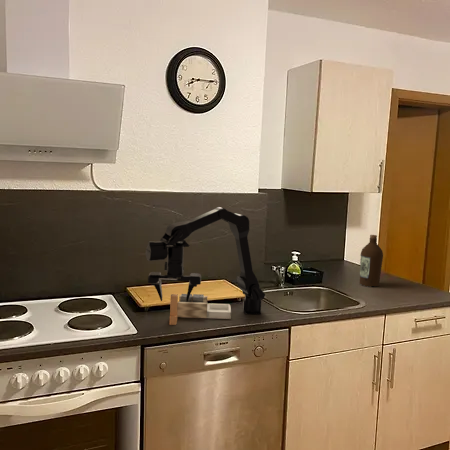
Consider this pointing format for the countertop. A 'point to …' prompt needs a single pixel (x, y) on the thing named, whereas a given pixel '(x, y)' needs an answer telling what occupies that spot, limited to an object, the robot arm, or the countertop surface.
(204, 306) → the rail
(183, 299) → the grey cube
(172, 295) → the rake tool
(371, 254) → the olive oil
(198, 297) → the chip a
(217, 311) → the tray
